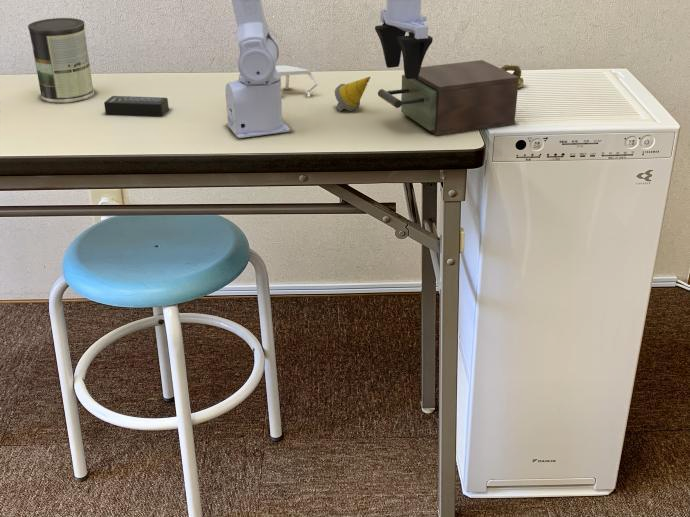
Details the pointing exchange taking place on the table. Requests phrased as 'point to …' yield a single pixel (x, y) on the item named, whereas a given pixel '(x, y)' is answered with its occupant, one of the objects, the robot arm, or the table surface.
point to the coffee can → (61, 59)
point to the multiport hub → (136, 106)
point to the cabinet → (471, 96)
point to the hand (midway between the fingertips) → (401, 72)
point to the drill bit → (350, 94)
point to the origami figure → (294, 71)
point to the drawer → (414, 101)
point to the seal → (515, 73)
